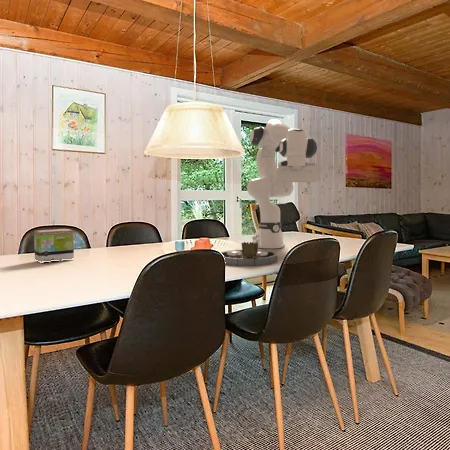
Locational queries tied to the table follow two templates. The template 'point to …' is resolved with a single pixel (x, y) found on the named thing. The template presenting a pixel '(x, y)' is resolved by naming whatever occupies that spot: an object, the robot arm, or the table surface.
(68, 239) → the tea box
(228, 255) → the tray
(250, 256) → the cup
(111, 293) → the table surface
